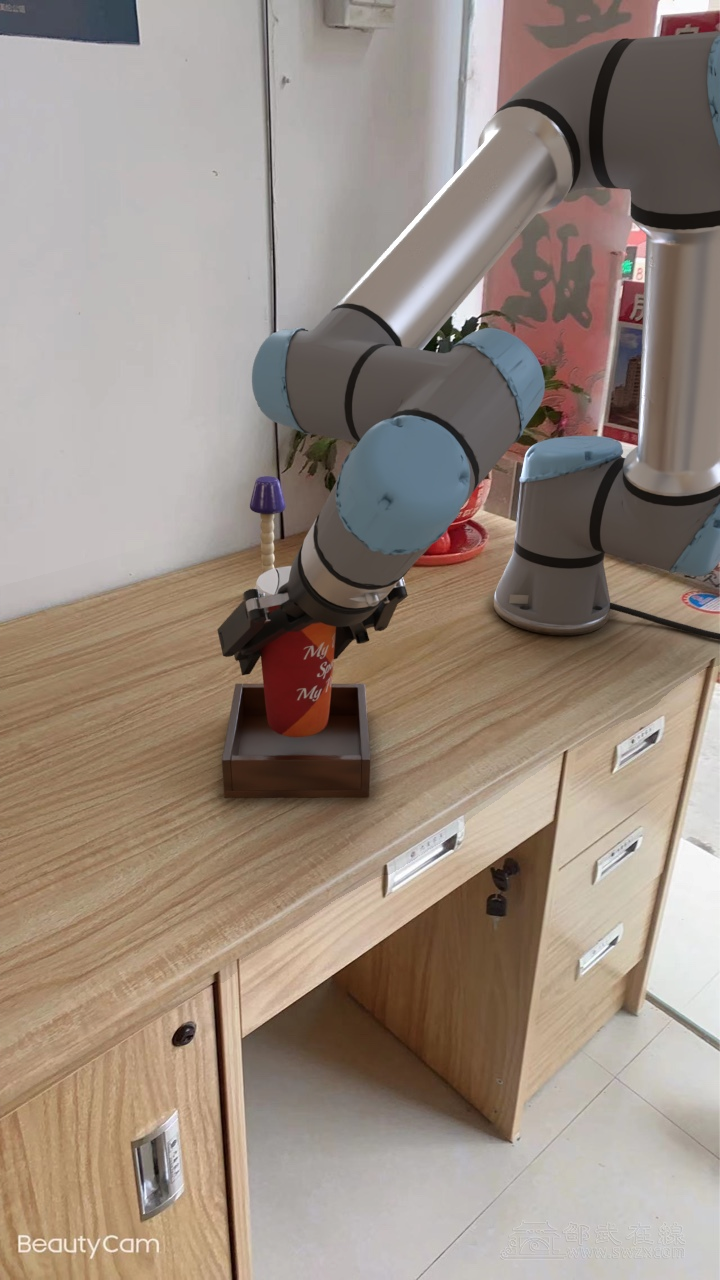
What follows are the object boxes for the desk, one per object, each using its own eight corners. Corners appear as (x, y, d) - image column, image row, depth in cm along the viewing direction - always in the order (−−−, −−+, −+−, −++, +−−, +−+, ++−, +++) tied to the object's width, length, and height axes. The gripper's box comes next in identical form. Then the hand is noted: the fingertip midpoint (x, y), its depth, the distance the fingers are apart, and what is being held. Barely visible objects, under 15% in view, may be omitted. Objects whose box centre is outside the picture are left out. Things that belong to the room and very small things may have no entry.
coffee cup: (328, 749, 82) (330, 604, 75) (244, 737, 84) (238, 594, 77) (348, 703, 90) (351, 567, 83) (270, 693, 91) (266, 558, 84)
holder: (363, 717, 95) (364, 683, 93) (369, 797, 83) (370, 759, 81) (237, 717, 94) (235, 683, 92) (224, 797, 83) (221, 760, 80)
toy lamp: (257, 587, 123) (253, 472, 116) (290, 590, 123) (288, 474, 115) (249, 602, 119) (244, 483, 111) (283, 605, 119) (280, 486, 111)
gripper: (221, 633, 62) (188, 710, 82) (485, 591, 69) (394, 672, 89) (199, 535, 63) (172, 635, 84) (459, 504, 71) (375, 603, 91)
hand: (287, 654), depth 87 cm, fingers closed on coffee cup, 8 cm apart
